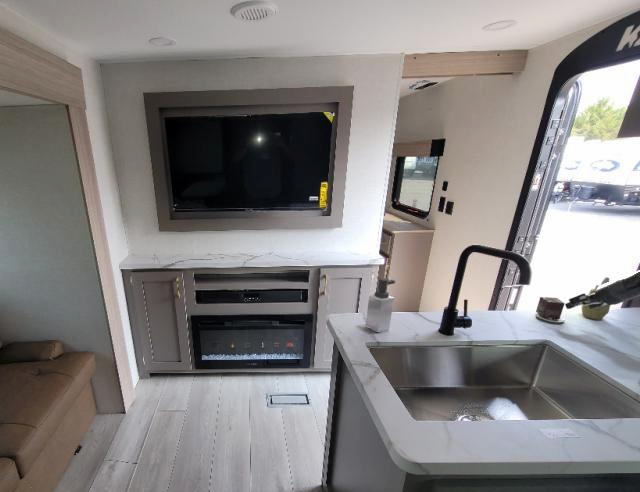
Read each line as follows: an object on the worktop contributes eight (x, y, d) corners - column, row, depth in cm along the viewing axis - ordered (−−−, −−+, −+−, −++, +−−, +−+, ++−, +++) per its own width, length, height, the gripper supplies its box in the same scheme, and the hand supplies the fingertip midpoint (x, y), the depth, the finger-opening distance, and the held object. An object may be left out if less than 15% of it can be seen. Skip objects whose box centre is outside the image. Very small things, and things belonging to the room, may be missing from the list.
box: (559, 319, 136) (565, 303, 133) (542, 317, 138) (547, 301, 135) (552, 313, 141) (557, 297, 139) (535, 311, 143) (540, 296, 140)
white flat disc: (558, 316, 141) (559, 314, 140) (567, 326, 133) (568, 323, 133) (532, 313, 144) (533, 311, 144) (539, 322, 137) (540, 319, 136)
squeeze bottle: (610, 322, 135) (627, 281, 128) (585, 320, 137) (601, 280, 131) (597, 314, 142) (613, 275, 135) (574, 312, 144) (588, 273, 138)
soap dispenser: (393, 328, 135) (400, 279, 128) (377, 333, 132) (383, 283, 124) (381, 322, 141) (387, 274, 133) (365, 326, 138) (371, 278, 130)
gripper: (603, 300, 110) (562, 315, 125) (648, 300, 110) (601, 315, 124) (593, 280, 113) (555, 297, 128) (637, 280, 113) (593, 297, 127)
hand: (578, 306), depth 126 cm, fingers open, 8 cm apart
